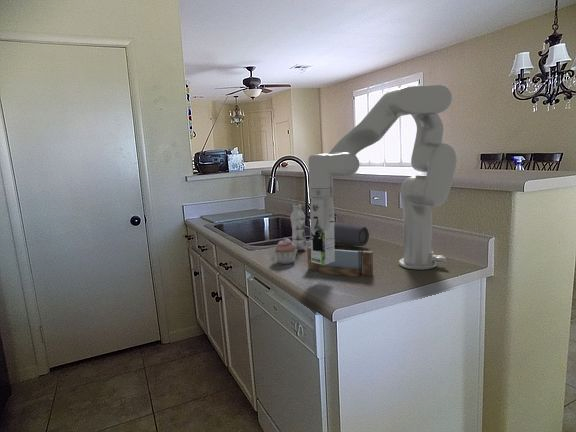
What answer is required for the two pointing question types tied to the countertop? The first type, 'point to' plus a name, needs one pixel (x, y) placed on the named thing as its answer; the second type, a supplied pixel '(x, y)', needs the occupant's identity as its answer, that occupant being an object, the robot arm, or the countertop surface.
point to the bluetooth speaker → (350, 235)
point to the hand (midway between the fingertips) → (322, 247)
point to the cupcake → (285, 251)
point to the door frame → (367, 268)
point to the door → (347, 259)
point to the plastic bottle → (298, 227)
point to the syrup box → (325, 247)
